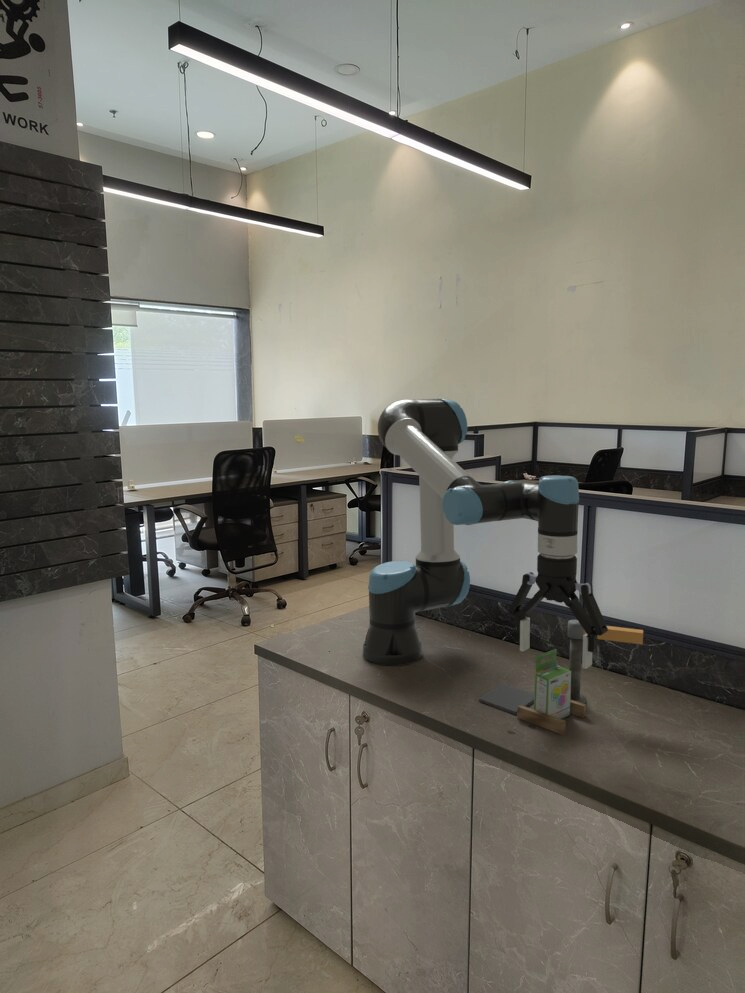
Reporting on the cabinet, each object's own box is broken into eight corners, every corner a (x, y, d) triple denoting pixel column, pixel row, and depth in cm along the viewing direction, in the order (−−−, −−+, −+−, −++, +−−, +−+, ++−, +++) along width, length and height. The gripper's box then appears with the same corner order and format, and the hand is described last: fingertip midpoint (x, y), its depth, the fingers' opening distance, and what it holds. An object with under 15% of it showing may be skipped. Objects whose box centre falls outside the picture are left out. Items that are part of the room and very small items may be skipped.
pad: (478, 701, 138) (478, 698, 138) (503, 685, 146) (503, 683, 146) (515, 714, 132) (515, 711, 132) (539, 698, 140) (539, 695, 139)
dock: (517, 718, 131) (519, 652, 129) (557, 689, 144) (559, 629, 141) (562, 734, 124) (565, 666, 122) (601, 703, 137) (604, 640, 135)
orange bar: (566, 637, 135) (567, 624, 135) (568, 632, 139) (568, 618, 138) (642, 647, 130) (643, 633, 129) (642, 641, 133) (643, 627, 133)
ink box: (548, 726, 128) (550, 662, 126) (532, 718, 131) (534, 655, 129) (570, 716, 132) (572, 654, 130) (554, 708, 135) (556, 647, 133)
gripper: (492, 549, 132) (491, 647, 135) (611, 568, 115) (607, 680, 118) (511, 543, 137) (510, 638, 140) (628, 560, 120) (623, 668, 123)
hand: (554, 657), depth 129 cm, fingers open, 13 cm apart
